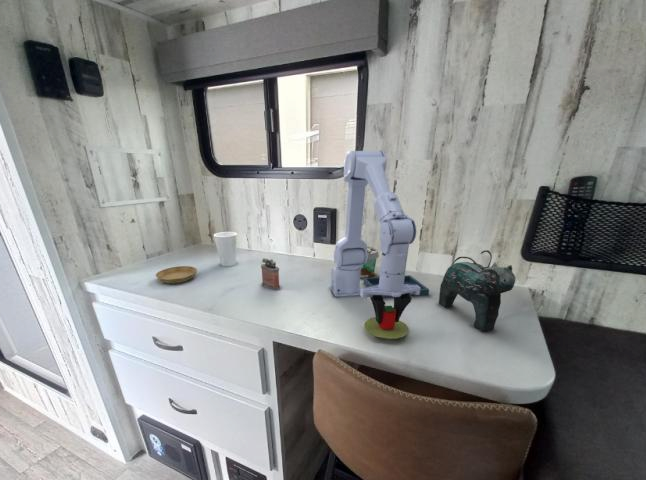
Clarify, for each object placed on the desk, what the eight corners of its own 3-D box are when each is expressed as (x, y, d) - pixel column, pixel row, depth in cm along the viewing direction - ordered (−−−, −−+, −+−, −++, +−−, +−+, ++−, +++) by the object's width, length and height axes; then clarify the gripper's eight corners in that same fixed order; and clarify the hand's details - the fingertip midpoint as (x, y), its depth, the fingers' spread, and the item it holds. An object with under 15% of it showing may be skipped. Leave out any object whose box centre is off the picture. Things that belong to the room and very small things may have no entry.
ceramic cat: (502, 333, 79) (524, 258, 71) (481, 337, 78) (502, 261, 69) (448, 301, 97) (461, 239, 88) (431, 304, 95) (443, 240, 86)
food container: (376, 281, 113) (379, 255, 109) (360, 280, 114) (361, 254, 110) (376, 270, 124) (378, 246, 119) (361, 269, 125) (362, 245, 121)
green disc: (380, 349, 73) (381, 342, 72) (355, 327, 82) (355, 321, 82) (417, 338, 77) (418, 332, 76) (389, 319, 86) (390, 313, 86)
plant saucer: (165, 289, 108) (163, 282, 107) (151, 278, 118) (150, 271, 117) (204, 278, 117) (203, 272, 116) (188, 269, 127) (187, 263, 126)
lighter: (282, 288, 108) (280, 260, 104) (275, 290, 106) (273, 263, 102) (267, 282, 113) (265, 256, 109) (260, 285, 111) (258, 258, 107)
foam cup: (222, 260, 138) (219, 231, 133) (242, 261, 137) (239, 231, 132) (214, 267, 130) (209, 236, 124) (235, 267, 129) (231, 237, 123)
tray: (376, 299, 99) (377, 293, 98) (363, 284, 111) (363, 278, 110) (428, 295, 101) (429, 289, 100) (409, 281, 113) (410, 275, 112)
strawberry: (381, 330, 77) (383, 311, 75) (376, 322, 80) (378, 304, 78) (397, 328, 77) (399, 310, 75) (390, 321, 81) (392, 303, 79)
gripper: (368, 278, 68) (364, 331, 74) (430, 274, 70) (421, 326, 76) (359, 268, 74) (355, 317, 80) (415, 265, 76) (408, 313, 82)
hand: (386, 321), depth 78 cm, fingers closed on strawberry, 4 cm apart
